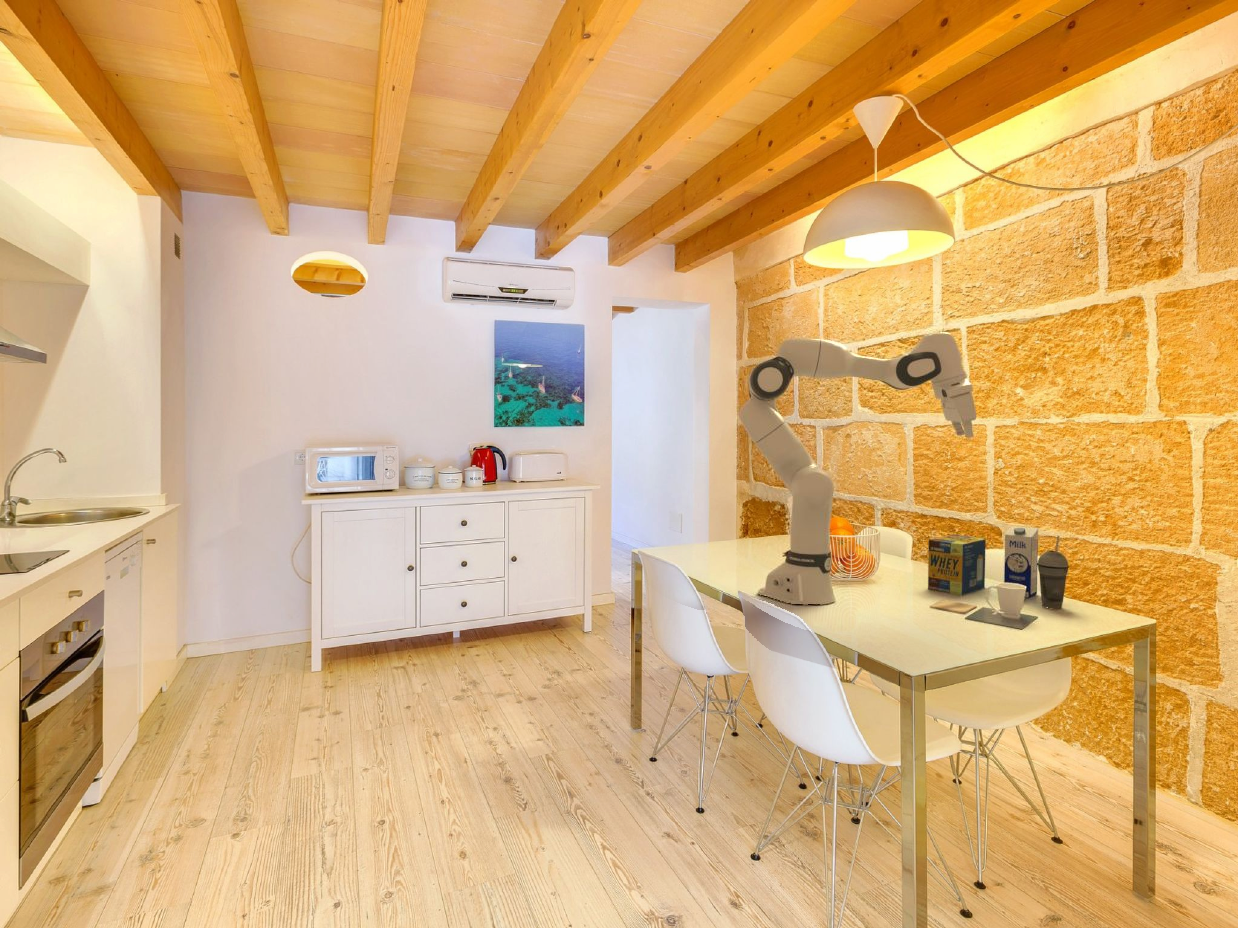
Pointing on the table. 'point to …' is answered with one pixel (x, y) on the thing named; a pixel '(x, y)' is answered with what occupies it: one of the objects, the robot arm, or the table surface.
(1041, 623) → the table surface
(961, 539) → the protein box
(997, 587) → the cup
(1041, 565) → the beverage cup
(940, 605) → the cork pad
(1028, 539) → the milk carton
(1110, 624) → the table surface
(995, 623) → the tile
